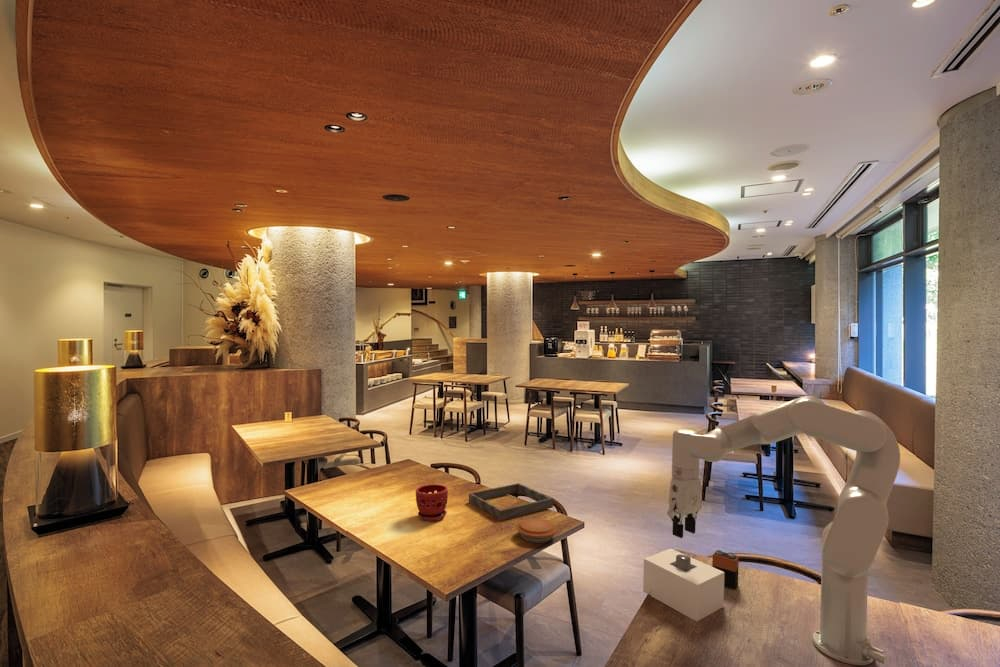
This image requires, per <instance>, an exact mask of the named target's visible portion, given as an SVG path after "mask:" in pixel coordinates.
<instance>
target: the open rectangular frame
mask: <svg viewBox="0 0 1000 667" xmlns="http://www.w3.org/2000/svg"><path fill="white" fill-rule="evenodd" d="M516 493H517V494H518V493H519V494H521V495H523V496H525V497H527V498H529V499H531V500H534V501H533V502H529V503H523V504H521V505H520V504H519V505H515V506H512V507H507V508H503V509H501V508H499V507H497V506H495V505H493V504H492V503H490V502H488V501H486V500H489V499H495V498H499V497H505V496H508V495H512V494H516ZM468 503H469V504H471V505H473V506H474V507H476V508H478V509H480V510H482V511H483V512H484V513H487V514H488V515H490V516H492V517H493V518H495V519H497V520H499V521H500V522H501V521H505V520H509V519H513V518H517V517H521V516H526V515H529V514H533V513H537V512H541V511H545V510H549V509H552V508H554V507H553V504H554V498H552V497H550V496H549V495H546V494H544V493H541V492H540V491H537V490H535V489H532V488H531V487H528V486H527V485H526V486H525V485H524V484H521V483H519V482H518V483H513V484H508V485H505V486H499V487H494V488H493V487H492V488H488V489H484V490H479V491H475V492H469V493H468Z"/></svg>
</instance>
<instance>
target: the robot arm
mask: <svg viewBox="0 0 1000 667" xmlns="http://www.w3.org/2000/svg"><path fill="white" fill-rule="evenodd" d="M802 434H806V435H808V436H810V437H813V438H815V439H818V440H821V441H825V442H827V443H831V444H834V445H837V446H838V447H839V446H840V447H843V448H845V449H849V450H851V451H855V458H854V462H853V463H852V466H851V470H850V472H849V475H848V478H847V480H846V482H845V484H844V487H843V488H842V490H841V492H840V493H839V496H838V500H837V510H836V513H835V516H834V519H833V521H831V522H829V523H828V524H827V525H826V526H825V527H824V528H823V531H822V535H821V572H820V573H821V575H820V576H821V579H820V580H821V582H820V584H821V585H820V612H819V629H818V630H814V632H812V634H811V635H812V636H811V637H812V643H813V644H814V646H815V647H816V648H817V649H818V650H819V651H820V652H822V653H823V654H824V655H826V656H828V657H830V658H832V659H834V660H836V661H839V662H840V663H841V662H842V663H845V664H848V665H854V666H868V665H869V664H872V663H873V662H874V660H875V661H876V662H878V663H880V664H883V665H884V666H885V665H886V664H887V659H888V658H887V655H885V650H883V649H881V648H879V647H876V646H873V644H872V643H871V642H872V640H871V638H872V637H870V636H867V622H868V620H867V618H868V617H867V616H868V614H867V613H868V594H869V593H868V592H869V570H870V568H871V566H872V565H873V563H874V560H875V558H876V557H877V553H878V551H879V549H880V547H881V545H882V543H883V540H884V537H885V535H886V532H887V530H888V526H889V521H890V520H889V519H890V518H889V515H890V514H889V512H888V506H887V503H888V500H889V498H890V496H891V495H890V494H891V492H892V490H893V487H894V484H895V481H896V478H897V476H898V473H899V469H900V464H901V450H900V446H899V443H898V440H897V438H896V436H895V433H894V432H893V431H892V429H891V428H890V427H889V426H888V424H886V422H885V421H883V420H882V419H881V418H880V417H879V416H877V415H876V414H875V413H873V412H870V411H867V410H859V409H858V410H853V411H851V412H850V411H849V410H848V411H847V410H844V409H841V408H837V407H835V406H831V405H829V404H826V403H825V402H824V401H823V400H822V399H821V398H819V397H816V396H813V395H804V396H799V397H797V398H794V399H791V400H790V401H787V402H784V403H781V404H778V405H776V406H773V407H771V408H768V409H765V410H763V411H759V412H757V413H754V414H751V415H749V416H747V417H745V418H742V419H739V420H736V421H734V422H733V421H732V422H731V423H728V424H726V425H723V426H720V427H718V428H715V429H713V430H711V431H709V432H707V433H705V434H700V433H699V432H698V431H695V430H691V429H688V428H687V429H683V428H681V429H680V428H678V429H676V430H674V432H673V433H672V446H671V448H672V449H671V451H672V452H671V480H670V486H669V493H668V494H669V497H668V507H669V508H668V510H667V512H666V514H667V516H668V517H669V519H670V521H671V522H672V535H673V536H675V537H678V538H679V539H683V538H684V530H685V532H688V533H690V534H692V535H693V534H695V533H696V524H697V523H696V520H697V519H698V512H699V511H700V510H702V508H703V492H702V491H703V490H702V482H701V477H700V460H703V461H705V462H710V463H711V462H712V463H717V462H721V460H723V459H724V458H725V457H726V456H727V454H729V453H732V452H735V451H737V450H740V449H743V448H746V447H749V446H753V445H772V444H774V443H777V442H780V441H783V440H787V439H789V438H791V437H792V438H793V437H795V436H798V435H802ZM683 519H684V523H683Z"/></svg>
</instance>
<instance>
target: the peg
mask: <svg viewBox="0 0 1000 667" xmlns="http://www.w3.org/2000/svg"><path fill="white" fill-rule="evenodd" d="M688 556H689V555H687V556H686V554H685V555H677V556H676V567H677V568H679V569H681V570H683V571H685V572H687V571H689V570H690V563H691V558H692V557H691V556H689V557H688ZM690 557H691V558H690Z"/></svg>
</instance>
